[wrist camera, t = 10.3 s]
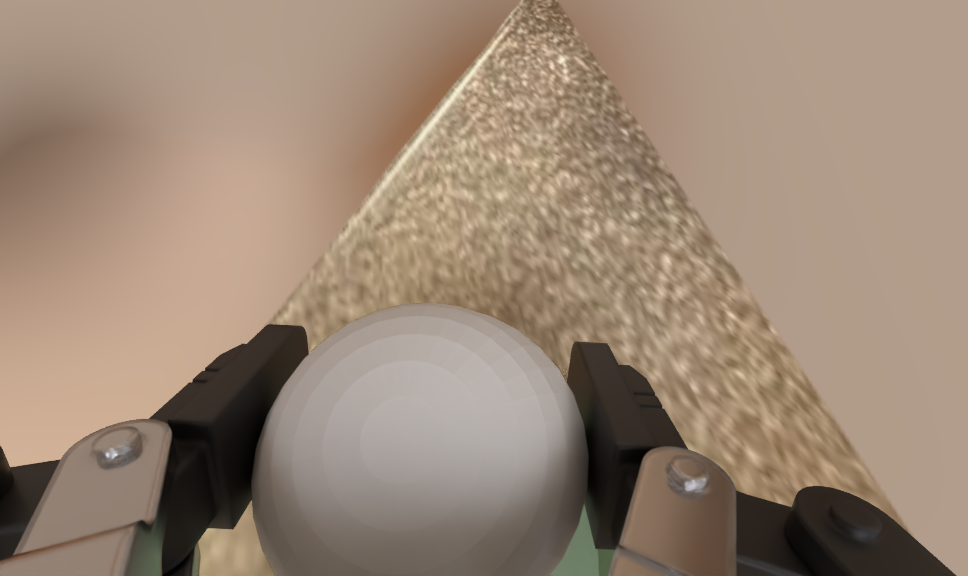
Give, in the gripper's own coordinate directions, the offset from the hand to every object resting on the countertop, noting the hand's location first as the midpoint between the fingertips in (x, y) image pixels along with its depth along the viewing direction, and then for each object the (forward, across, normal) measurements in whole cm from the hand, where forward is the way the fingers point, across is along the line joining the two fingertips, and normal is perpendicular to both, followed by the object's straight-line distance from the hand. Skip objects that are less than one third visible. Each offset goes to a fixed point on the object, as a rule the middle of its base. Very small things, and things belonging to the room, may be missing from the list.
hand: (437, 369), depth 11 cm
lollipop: (+6, 0, +9) cm, 11 cm away
